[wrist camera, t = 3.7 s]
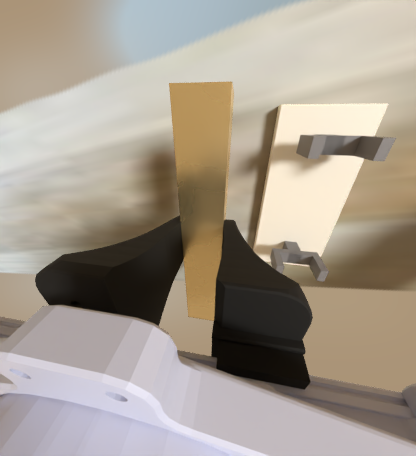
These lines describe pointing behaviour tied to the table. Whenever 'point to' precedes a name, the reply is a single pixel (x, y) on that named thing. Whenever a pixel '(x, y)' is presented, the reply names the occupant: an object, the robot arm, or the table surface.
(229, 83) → the wooden bar
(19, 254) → the table surface
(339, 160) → the hook stand
